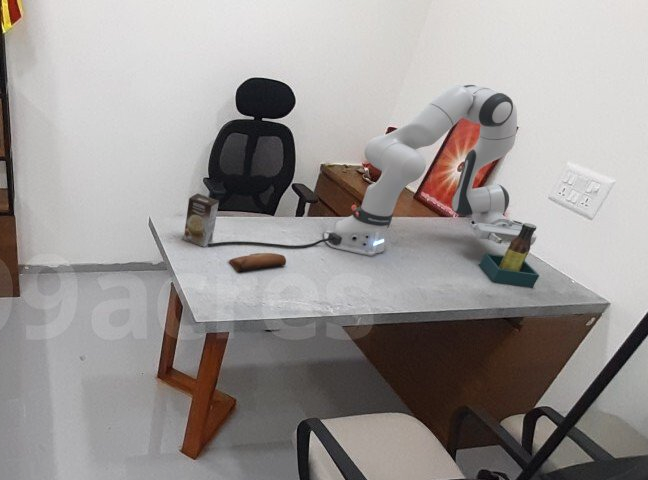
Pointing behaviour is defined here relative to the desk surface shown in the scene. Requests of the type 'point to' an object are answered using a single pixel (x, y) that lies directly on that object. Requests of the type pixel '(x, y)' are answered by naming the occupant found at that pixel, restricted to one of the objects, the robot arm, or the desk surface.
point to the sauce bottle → (518, 249)
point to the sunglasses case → (257, 261)
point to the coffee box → (200, 219)
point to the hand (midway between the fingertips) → (513, 243)
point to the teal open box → (508, 272)
